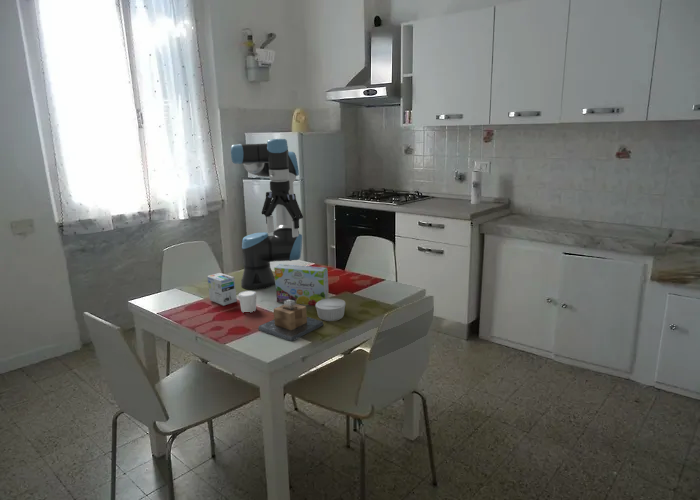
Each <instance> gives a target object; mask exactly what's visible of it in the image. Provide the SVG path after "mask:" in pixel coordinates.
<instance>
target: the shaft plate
mask: <svg viewBox="0 0 700 500" xmlns="http://www.w3.org/2000/svg"><path fill="white" fill-rule="evenodd" d="M283 305H284V309H287V310H290V311H291V310H294V309H296V303H295V301H294V300H290V299H288V300H286V301H284V302H283ZM322 326H324V320H321V319H320V320H319V319H316V318H312V317H310V316H307V323H305V324H303V325H301V326H299V327H297V328H295V329H293V330H289V329H286V328H283V327H280V326H276V325H275V321H274V319H272V320H270V321H267V322H265V323H262V324H261V325H258V331H260V332H263V333H267V334H268V335H271V336H272V335H273V336H275V337H278V338H281V339H284V340H287V341H290V342H293V341H296V340H297V339H299V338H301V337H303V336H305V335H307V334H309V333H311V332H313V331H316V330H318V329H319V328H320V327H322Z"/></svg>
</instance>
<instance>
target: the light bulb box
mask: <svg viewBox="0 0 700 500" xmlns="http://www.w3.org/2000/svg"><path fill="white" fill-rule="evenodd" d="M206 278H207V285H208V286H207V287H208V295H209V301H210V302H214V303H216V304H219V305H221V306H222V307H224V306H226V305H231V304H233V303H237V290H236V279H235V276H231V275H229V274H225V273H222V272H217V273H214V274H210V275H209V274H208V275H207V277H206Z"/></svg>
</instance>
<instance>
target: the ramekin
mask: <svg viewBox="0 0 700 500" xmlns="http://www.w3.org/2000/svg"><path fill="white" fill-rule="evenodd" d="M314 307H315V309H316V313H317V316H318V318H319V319H320V320H321V321H324V322H332V321H333V322H335V321H338V320H340V319H342V318H344V315H345V307H346V301H345V300H343V299H340V298H336V297H335V298H330V297H329V299H323V300H320V301H318V302H317V303H316V305H315V306H314Z"/></svg>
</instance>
